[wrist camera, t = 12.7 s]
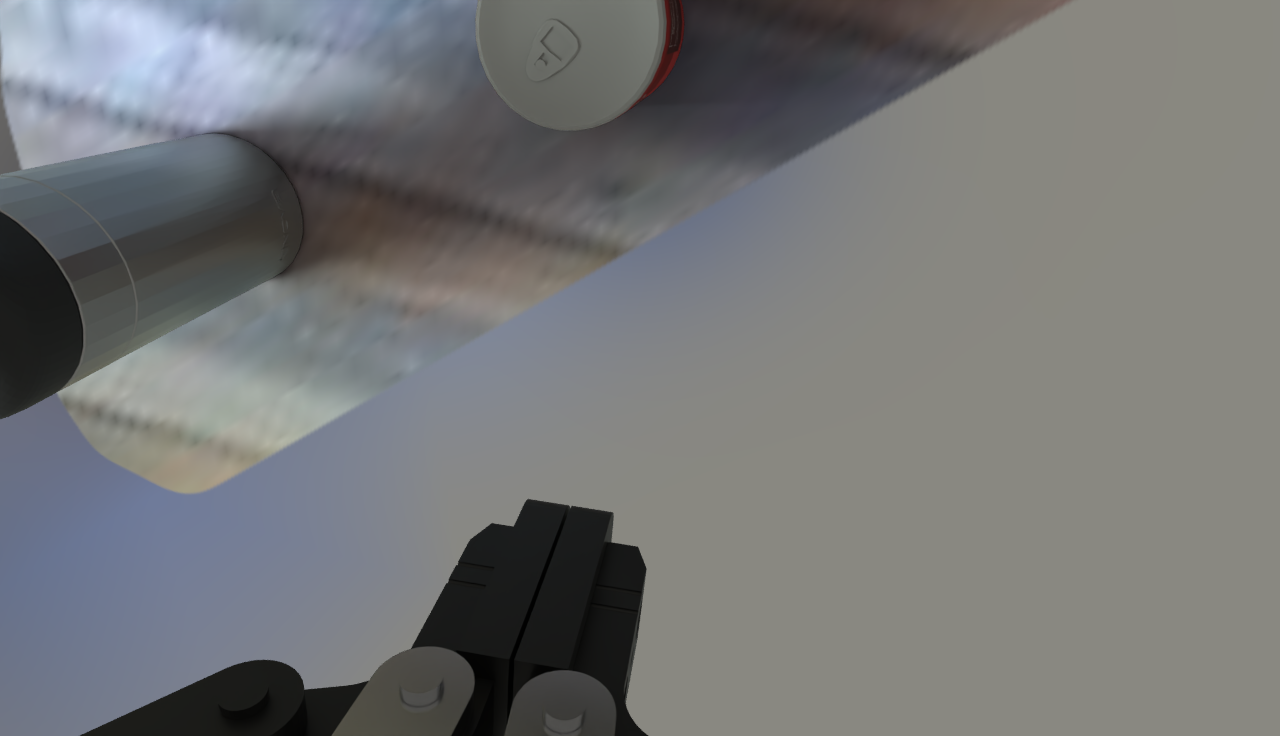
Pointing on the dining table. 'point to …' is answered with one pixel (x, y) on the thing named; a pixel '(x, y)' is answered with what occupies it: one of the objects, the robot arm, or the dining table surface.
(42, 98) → the dining table surface
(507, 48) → the canned food
